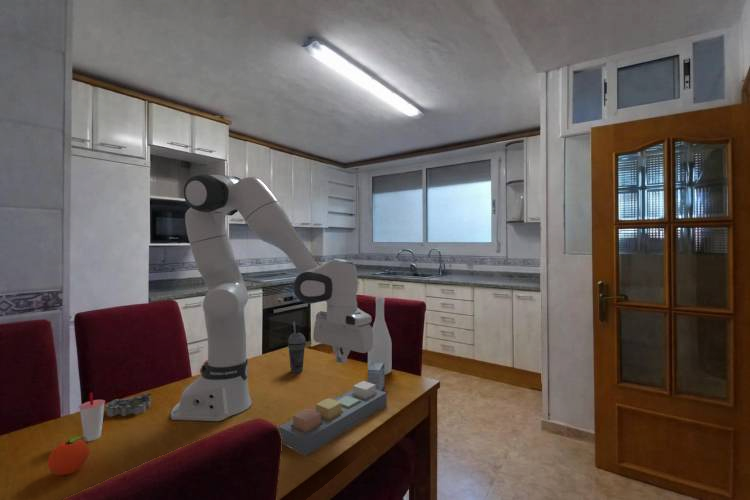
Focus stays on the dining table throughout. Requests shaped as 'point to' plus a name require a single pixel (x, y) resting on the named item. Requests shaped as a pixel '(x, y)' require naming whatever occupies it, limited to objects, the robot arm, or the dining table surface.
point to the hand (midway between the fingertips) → (341, 362)
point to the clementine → (68, 456)
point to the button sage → (348, 402)
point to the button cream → (364, 390)
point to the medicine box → (376, 375)
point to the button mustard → (328, 408)
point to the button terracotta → (306, 420)
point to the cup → (92, 418)
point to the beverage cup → (296, 351)
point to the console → (332, 424)
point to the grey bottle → (380, 340)
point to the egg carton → (129, 405)
